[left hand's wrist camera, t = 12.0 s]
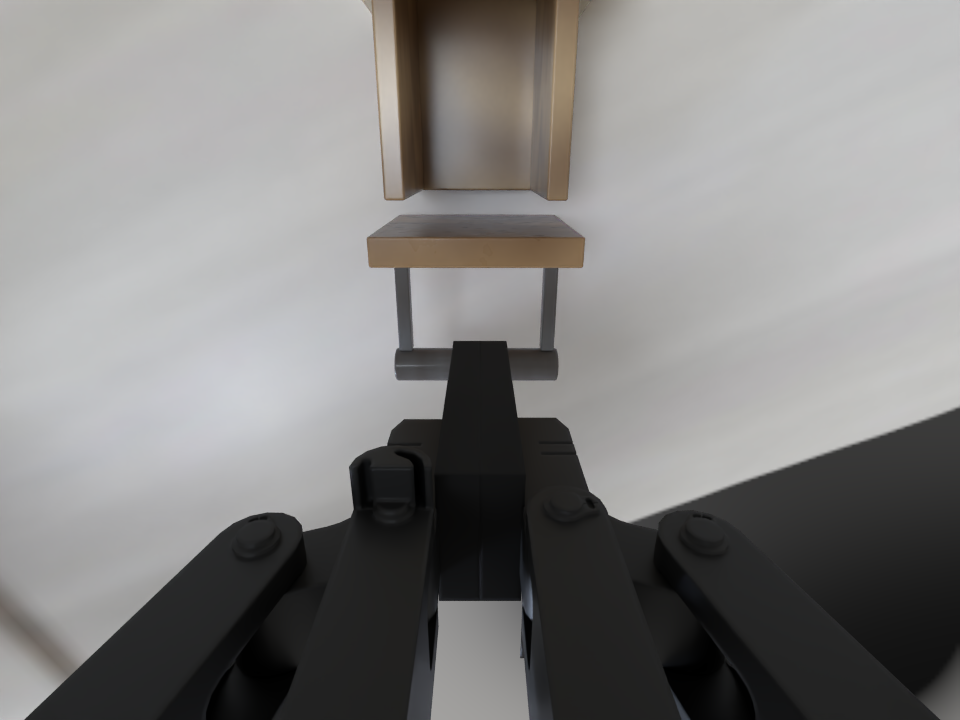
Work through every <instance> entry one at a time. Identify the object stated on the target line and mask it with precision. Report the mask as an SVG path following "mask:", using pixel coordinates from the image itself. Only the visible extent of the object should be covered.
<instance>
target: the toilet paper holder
mask: <svg viewBox="0 0 960 720" xmlns="http://www.w3.org/2000/svg"><path fill="white" fill-rule="evenodd" d="M371 5H372V20H373V35H374V50H375V65H376V81H377V96H378V111H379V126H380V141H381V157H382V172H383V187H384V199H385V200H405V199H407V198H409V197H410V196H412V195H414V194H416V193H418V192H420V191H422V190H532V191H533V192H535V193H537V194H538V195H540V196H542V197H543V198H545V199H547V200H555V201H566V200H567V199H568V184H569V168H570V152H571V136H572V119H573V103H574V87H575V71H576V55H577V38H578V22H579V6H580V0H371ZM584 247H585V238H584V237H583V236H582V235H580V234H579V233H578V232H576V231H575V230H574V229H572V228H571V227H570V226H568V225H567V224H566V223H564V222H563V221H562V220H560V219H559V218H558V217H556V216H555V215H399V216H398V217H396V218H395V219H393V220H392V221H390V222H389V223H388V224H386V225H385V226H383V227H382V228H380V229H379V230H377V231H376V232H375V233H373V234H372V235H370V236H369V237H367V248H368V260H369V267H371V268H395V284H396V301H397V317H398V333H399V348H398V349H397V350H396V353H395V375H396V379H397V380H448V376H449V370H450V363H451V356H452V349H453V348H413V346H414V345H413V325H412V305H411V285H410V268H543V286H542V307H541V328H540V348H507V349H508V356H509V363H510V370H511V376H512V380H556V379H557V376H558V353H557V350H556V349H555V348H554V333H555V316H556V299H557V281H558V268H582V267H583V260H584Z"/></svg>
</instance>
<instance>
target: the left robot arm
mask: <svg viewBox="0 0 960 720" xmlns="http://www.w3.org/2000/svg"><path fill="white" fill-rule="evenodd" d="M349 470H350V479H351V488H352V497H353V506H354V510H353V513H352V516H351V518H349V519H347V520H345V521H342V522H340V523H338V524H334V525H331V526H328V527H323V528H319V529H314V530H310V531H305V532H303V531H302V525H301V524H300V523H299V522H298V521H297V519H296V518H295V517H292V516H290V515H287V514H284V513H263V514H258V515H253V516H249V517H247V518H245V519H242V520H240V521H238V522H236V523H233V524H232V525H231V526H229V527H228V528H227V529H225V530H224V531H222V532H221V533H220V534H219V535H218V536H217V537H216V538H215V539H214V540H212V541H211V542H210V543H209V544H208V545H207V546H206V547H205V548H204V549H203V550H202V551H201V552H200V553H199V554H198V555H197V556H196V557H195V558H194V559H193V560H191V561H190V562H189V563H188V564H187V565H186V566H185V567H184V568H183V569H182V570H181V571H180V572H179V573H178V574H177V575H176V576H175V577H174V578H173V579H172V580H170V581H169V582H168V583H167V584H166V585H165V586H164V587H163V588H162V589H161V590H160V591H159V592H158V593H157V594H156V595H155V596H154V597H153V598H152V599H151V600H149V601H148V602H147V603H146V604H145V605H144V606H143V607H142V608H141V609H140V610H139V611H138V612H137V613H136V614H135V615H134V616H133V617H132V618H131V619H130V620H128V621H127V622H126V623H125V624H124V625H123V626H122V627H121V628H120V629H119V630H118V631H117V632H116V633H115V634H114V635H113V636H112V637H111V638H110V639H109V640H107V641H106V642H105V643H104V644H103V645H102V646H101V647H100V648H99V649H98V650H97V651H96V652H95V653H94V654H93V655H92V656H91V657H90V658H89V659H88V660H87V661H85V662H84V663H83V664H82V665H81V666H80V667H79V668H78V669H77V670H76V671H75V672H74V673H73V674H72V675H71V676H70V677H69V678H68V679H67V680H66V681H64V682H63V683H62V684H61V685H60V686H59V687H58V688H57V689H56V690H55V691H54V692H53V693H52V694H51V695H50V696H49V697H48V698H47V699H46V700H45V701H43V702H42V703H41V704H40V705H39V706H38V707H37V708H36V709H35V710H34V711H33V712H32V713H31V714H30V715H29V716H28V717H27V718H26V719H25V720H430V719H431V707H432V696H433V684H434V672H435V661H436V649H437V637H438V595H439V601H521V592H522V602H523V604H522V629H521V653H520V658H524V660H525V672H526V683H527V695H528V707H529V718H530V720H940V719H939V718H938V717H937V716H936V715H935V714H933V713H932V712H931V711H930V710H929V709H928V708H927V707H926V706H925V705H924V704H923V703H922V702H921V701H920V700H919V699H918V698H916V696H914V695H913V694H912V693H911V692H910V691H909V690H908V689H907V688H906V687H905V686H904V685H903V684H902V683H901V682H900V681H899V680H897V679H896V678H895V677H894V676H893V675H892V674H891V673H890V672H889V671H888V670H887V669H886V668H885V667H884V666H883V665H882V664H881V663H880V662H879V661H877V660H876V659H875V658H874V657H873V656H872V655H871V654H870V653H869V652H868V651H867V650H866V649H865V648H864V647H863V646H862V645H861V644H859V643H858V642H857V641H856V640H855V639H854V638H853V637H852V636H851V635H850V634H849V633H848V632H847V631H846V630H845V629H844V628H843V627H841V626H840V625H839V624H838V623H837V622H836V621H835V620H834V619H833V618H832V617H831V616H830V615H829V614H828V613H827V612H826V611H825V610H824V609H822V608H821V607H820V606H819V605H818V604H817V603H816V602H815V601H814V600H813V599H812V598H811V597H810V596H809V595H808V594H807V593H806V592H804V591H803V590H802V589H801V588H800V587H799V586H798V585H797V584H796V583H795V582H794V581H793V580H792V579H791V578H790V577H789V576H788V575H786V574H785V573H784V572H783V571H782V570H781V569H780V568H779V567H778V566H777V565H776V564H775V563H774V562H773V561H772V560H771V559H770V558H769V557H767V556H766V555H765V554H764V553H763V552H762V551H761V550H760V549H759V548H758V547H757V546H756V545H755V544H754V543H753V542H752V541H751V540H749V539H748V538H747V537H746V536H745V535H744V534H743V533H742V532H741V531H740V530H738V529H737V528H736V527H734V526H733V525H732V524H730V523H729V522H727V521H725V520H723V519H721V518H719V517H716V516H714V515H712V514H708V513H703V512H698V511H694V510H690V511H689V510H688V511H676V512H673V513H670V514H667V515H665V516H664V518H663V519H662V520H661V521H660V522H659V525H658V530H655V529H651V528H646V527H642V526H637V525H633V524H629V523H626V522H623V521H620V520H618V519H616V518H614V517H611V516H609V515H608V512H607V510H606V508H605V506H604V505H603V503H602V502H601V500H600V499H599V498H597V497H596V496H595V495H593V494H592V493H590V492H589V490H588V487H587V484H586V481H585V478H584V474H583V471H582V468H581V465H580V462H579V459H578V456H577V455H576V450H575V447H574V444H573V441H572V438H571V435H570V432H569V429H568V428H567V427H566V426H565V425H564V424H562V423H561V422H560V421H559V420H558V419H557V418H517V411H516V404H515V397H514V390H513V383H512V376H511V370H510V363H509V356H508V349H507V342H506V341H454V342H453V349H452V356H451V363H450V370H449V376H448V383H447V390H446V397H445V404H444V411H443V418H442V419H404V420H403V421H402V422H401V423H400V424H398V425H397V426H396V427H395V428H394V429H393V430H392V431H391V434H390V437H389V440H388V443H387V446H383V447H379V448H376V449H372V450H369V451H367V452H365V453H363V454H362V455H360V456H358V457H357V458H356V459H355V460H354V461H353V462H352V464H351V465H350V466H349Z"/></svg>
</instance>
